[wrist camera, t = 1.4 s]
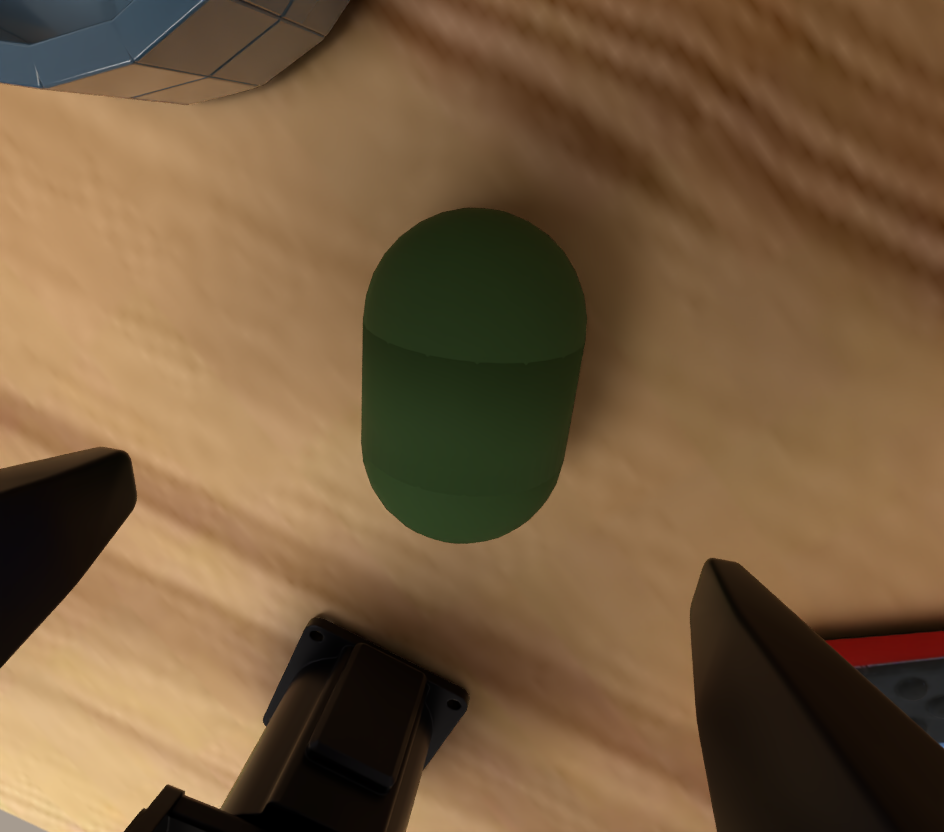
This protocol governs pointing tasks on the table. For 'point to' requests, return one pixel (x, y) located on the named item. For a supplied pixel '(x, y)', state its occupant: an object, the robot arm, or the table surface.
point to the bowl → (157, 45)
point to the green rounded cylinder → (469, 373)
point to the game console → (904, 672)
